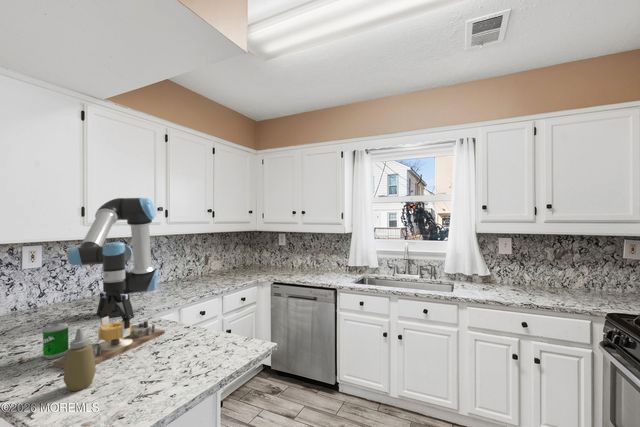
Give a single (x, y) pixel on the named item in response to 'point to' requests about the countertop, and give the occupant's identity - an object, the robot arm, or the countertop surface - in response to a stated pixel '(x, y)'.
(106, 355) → the gear board
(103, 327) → the ochre gear
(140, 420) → the countertop surface
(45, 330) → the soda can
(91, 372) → the squeeze bottle
